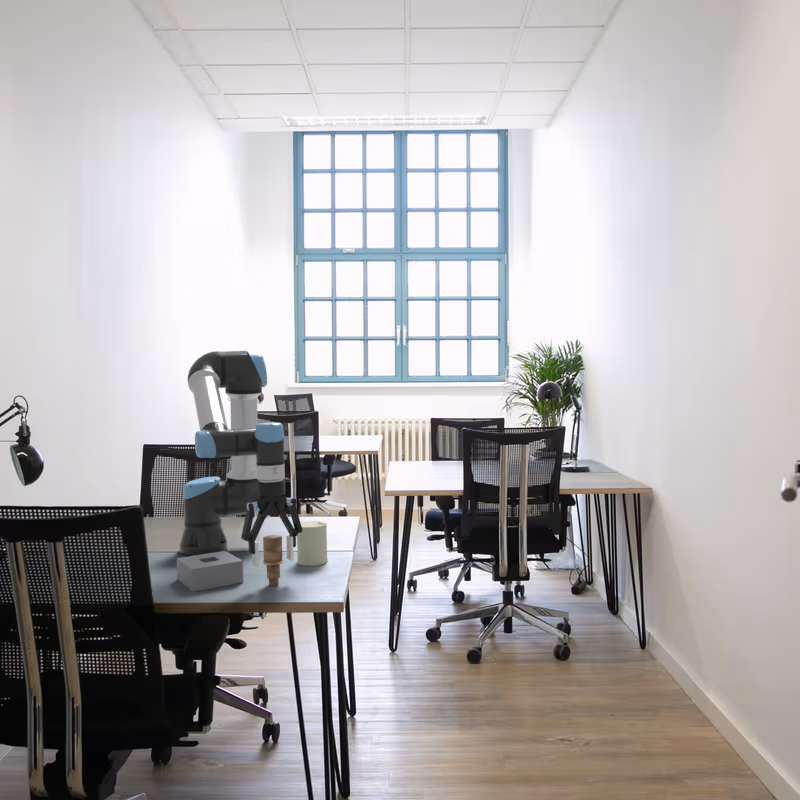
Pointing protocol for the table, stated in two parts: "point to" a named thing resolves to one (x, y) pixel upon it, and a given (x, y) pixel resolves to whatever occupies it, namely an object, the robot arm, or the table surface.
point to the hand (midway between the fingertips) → (273, 562)
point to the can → (312, 543)
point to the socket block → (209, 570)
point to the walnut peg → (273, 557)
